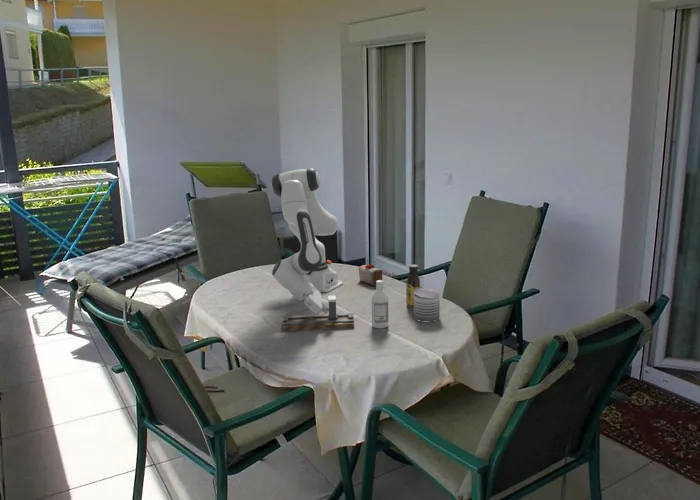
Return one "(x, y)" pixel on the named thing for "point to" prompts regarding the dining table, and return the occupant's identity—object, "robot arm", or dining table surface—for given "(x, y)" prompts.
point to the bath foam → (379, 307)
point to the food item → (369, 274)
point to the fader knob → (332, 308)
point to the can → (426, 304)
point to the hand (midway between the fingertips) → (327, 311)
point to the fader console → (317, 322)
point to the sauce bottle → (412, 285)
